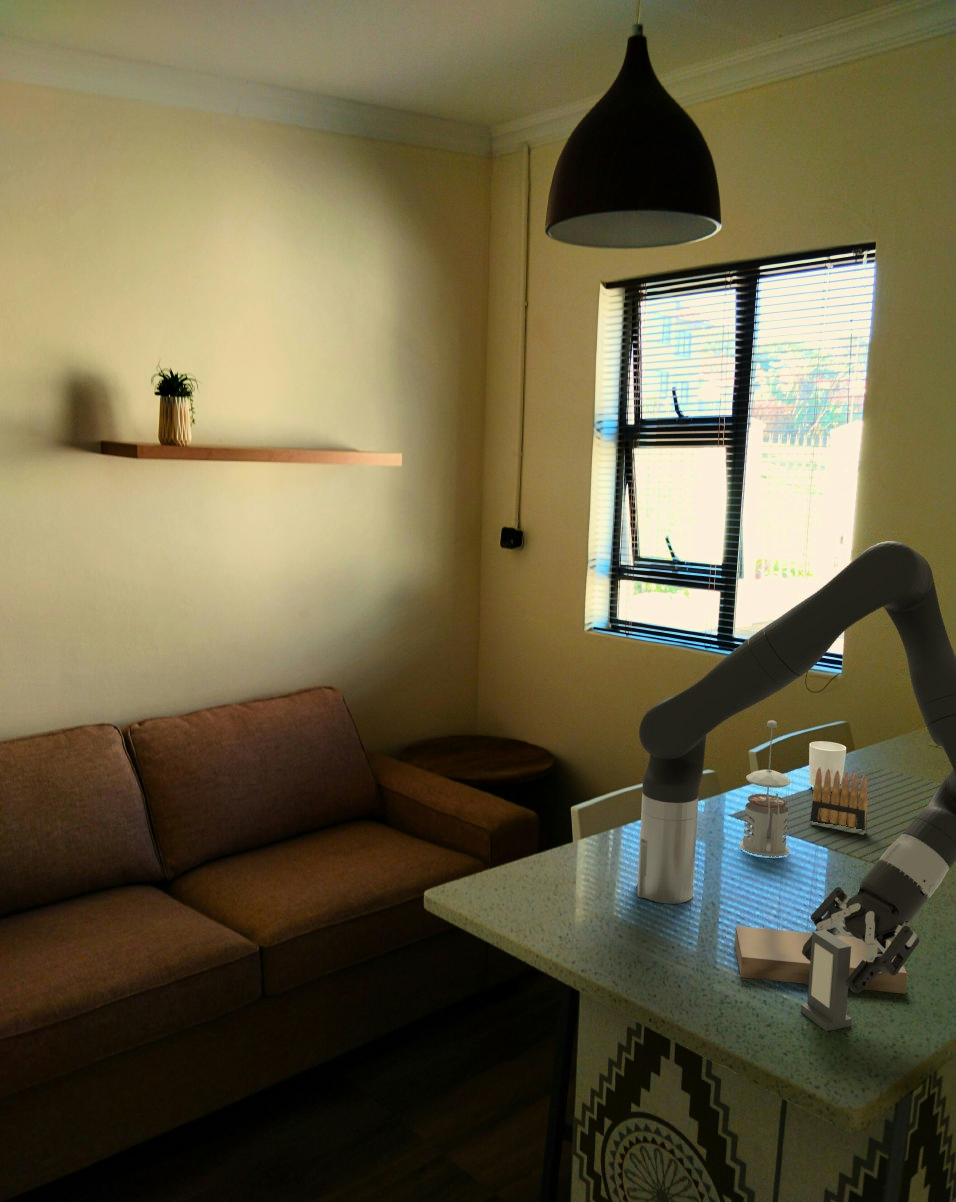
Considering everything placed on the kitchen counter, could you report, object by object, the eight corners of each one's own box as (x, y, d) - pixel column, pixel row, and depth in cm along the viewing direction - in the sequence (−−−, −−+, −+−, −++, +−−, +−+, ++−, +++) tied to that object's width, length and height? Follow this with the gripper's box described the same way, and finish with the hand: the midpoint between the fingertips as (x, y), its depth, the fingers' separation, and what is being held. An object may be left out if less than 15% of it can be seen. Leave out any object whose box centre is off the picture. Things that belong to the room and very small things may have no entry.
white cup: (846, 787, 232) (849, 745, 231) (838, 796, 225) (841, 752, 224) (811, 781, 236) (814, 739, 235) (802, 790, 229) (805, 746, 228)
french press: (785, 841, 197) (793, 715, 194) (798, 864, 185) (807, 730, 182) (733, 838, 198) (741, 713, 194) (743, 861, 186) (751, 728, 183)
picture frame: (826, 1031, 130) (832, 949, 128) (800, 1011, 134) (806, 932, 133) (851, 1026, 131) (857, 945, 130) (825, 1006, 136) (831, 928, 134)
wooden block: (740, 977, 143) (742, 957, 143) (734, 945, 153) (735, 926, 152) (905, 993, 139) (906, 973, 139) (888, 959, 149) (889, 940, 149)
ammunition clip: (866, 833, 203) (870, 774, 201) (864, 835, 201) (868, 777, 199) (811, 822, 208) (815, 765, 207) (809, 824, 207) (813, 767, 205)
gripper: (852, 842, 140) (777, 933, 137) (931, 881, 126) (851, 983, 124) (879, 874, 142) (807, 964, 139) (960, 916, 129) (882, 1016, 126)
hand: (828, 973), depth 132 cm, fingers open, 8 cm apart
